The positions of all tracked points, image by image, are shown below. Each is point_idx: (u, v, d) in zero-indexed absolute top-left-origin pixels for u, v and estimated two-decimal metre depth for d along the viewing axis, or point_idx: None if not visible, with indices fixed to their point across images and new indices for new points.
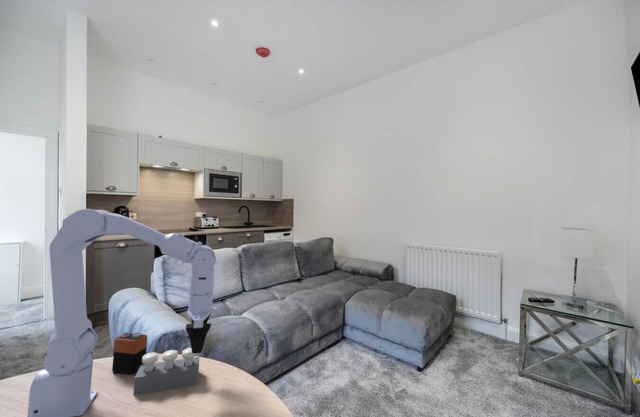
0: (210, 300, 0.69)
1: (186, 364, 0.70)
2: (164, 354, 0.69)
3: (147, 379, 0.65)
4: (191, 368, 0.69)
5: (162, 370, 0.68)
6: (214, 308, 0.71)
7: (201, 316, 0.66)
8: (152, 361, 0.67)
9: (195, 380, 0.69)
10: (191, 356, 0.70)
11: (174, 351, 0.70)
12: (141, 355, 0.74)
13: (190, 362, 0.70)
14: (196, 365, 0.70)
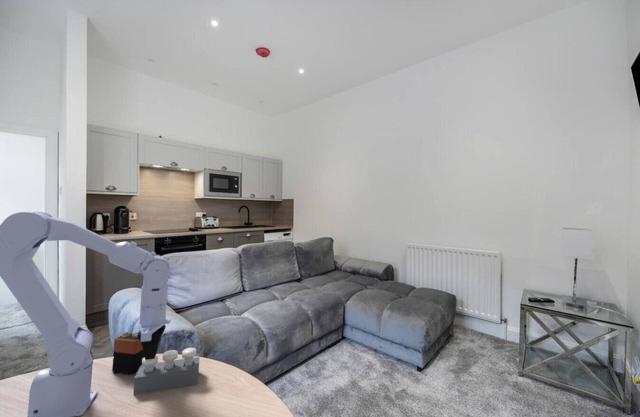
0: (162, 312, 0.68)
1: (186, 364, 0.70)
2: (164, 354, 0.69)
3: (147, 379, 0.65)
4: (191, 368, 0.69)
5: (162, 370, 0.68)
6: (168, 319, 0.70)
7: (150, 329, 0.64)
8: (152, 363, 0.67)
9: (195, 380, 0.69)
10: (191, 356, 0.70)
11: (174, 351, 0.70)
12: (141, 355, 0.74)
13: (190, 362, 0.70)
14: (196, 365, 0.70)
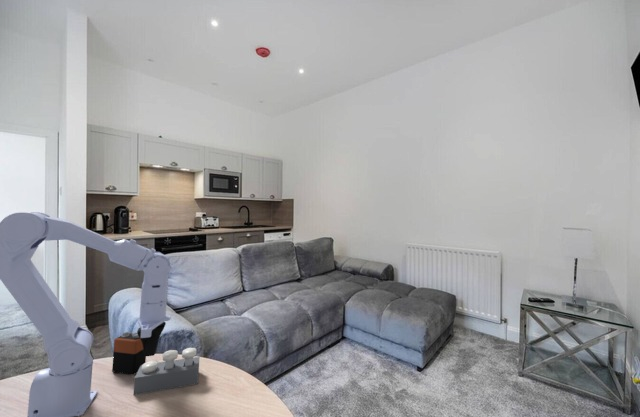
0: (162, 308, 0.68)
1: (186, 364, 0.70)
2: (164, 354, 0.69)
3: (147, 379, 0.65)
4: (191, 368, 0.69)
5: (162, 370, 0.68)
6: (168, 316, 0.70)
7: (150, 325, 0.64)
8: (151, 370, 0.67)
9: (195, 380, 0.69)
10: (191, 356, 0.70)
11: (174, 351, 0.70)
12: (141, 355, 0.74)
13: (190, 362, 0.70)
14: (196, 365, 0.70)
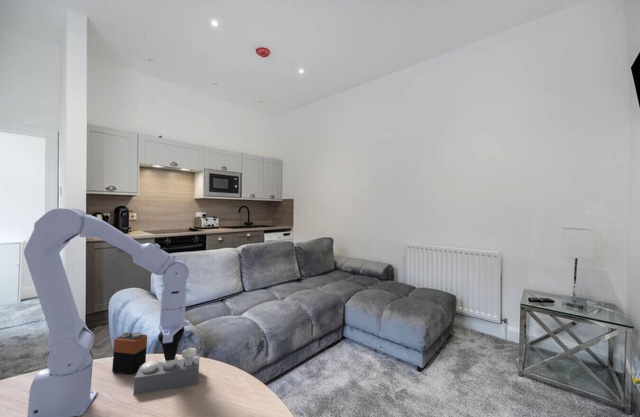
0: (182, 314, 0.69)
1: (186, 364, 0.70)
2: (164, 360, 0.69)
3: (147, 379, 0.65)
4: (191, 368, 0.69)
5: (162, 370, 0.68)
6: (187, 321, 0.71)
7: (171, 330, 0.66)
8: (151, 370, 0.67)
9: (195, 380, 0.69)
10: (191, 356, 0.70)
11: None
12: (141, 355, 0.74)
13: (190, 362, 0.70)
14: (196, 365, 0.70)
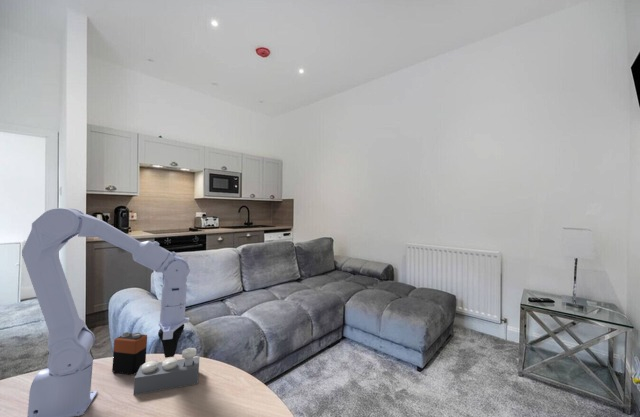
0: (182, 311, 0.69)
1: (186, 364, 0.70)
2: (163, 363, 0.69)
3: (147, 379, 0.65)
4: (191, 368, 0.69)
5: (162, 370, 0.68)
6: (187, 318, 0.71)
7: (171, 327, 0.66)
8: (151, 370, 0.67)
9: (195, 380, 0.69)
10: (191, 356, 0.70)
11: (173, 359, 0.70)
12: (141, 355, 0.74)
13: (190, 362, 0.70)
14: (196, 365, 0.70)
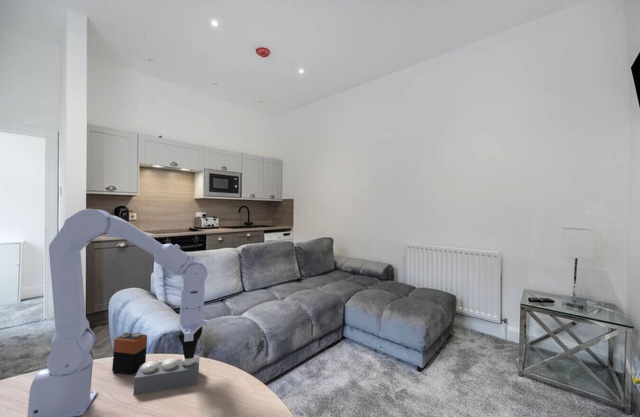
0: (201, 313, 0.71)
1: None
2: (163, 363, 0.69)
3: (147, 379, 0.65)
4: (191, 368, 0.69)
5: (162, 370, 0.68)
6: (205, 320, 0.73)
7: (191, 329, 0.67)
8: (151, 370, 0.67)
9: (195, 380, 0.69)
10: (191, 363, 0.70)
11: (173, 359, 0.70)
12: (141, 355, 0.74)
13: None
14: (196, 365, 0.70)
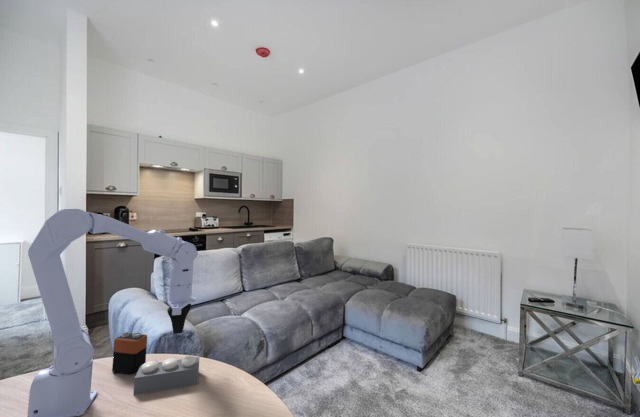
0: (189, 290, 0.75)
1: None
2: (163, 363, 0.69)
3: (147, 379, 0.65)
4: (191, 368, 0.69)
5: (162, 370, 0.68)
6: (193, 298, 0.77)
7: (180, 305, 0.71)
8: (151, 370, 0.67)
9: (195, 380, 0.69)
10: (191, 364, 0.70)
11: (173, 359, 0.70)
12: (141, 355, 0.74)
13: None
14: (196, 365, 0.70)
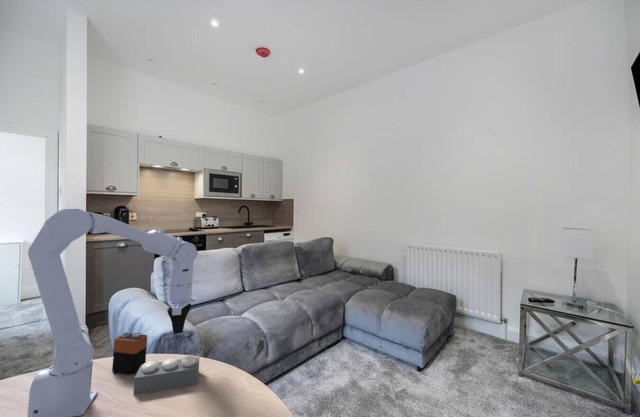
0: (189, 290, 0.75)
1: None
2: (163, 363, 0.69)
3: (147, 379, 0.65)
4: (191, 368, 0.69)
5: (162, 370, 0.68)
6: (193, 298, 0.77)
7: (180, 305, 0.71)
8: (151, 370, 0.67)
9: (195, 380, 0.69)
10: (191, 364, 0.70)
11: (173, 359, 0.70)
12: (141, 355, 0.74)
13: None
14: (196, 365, 0.70)
